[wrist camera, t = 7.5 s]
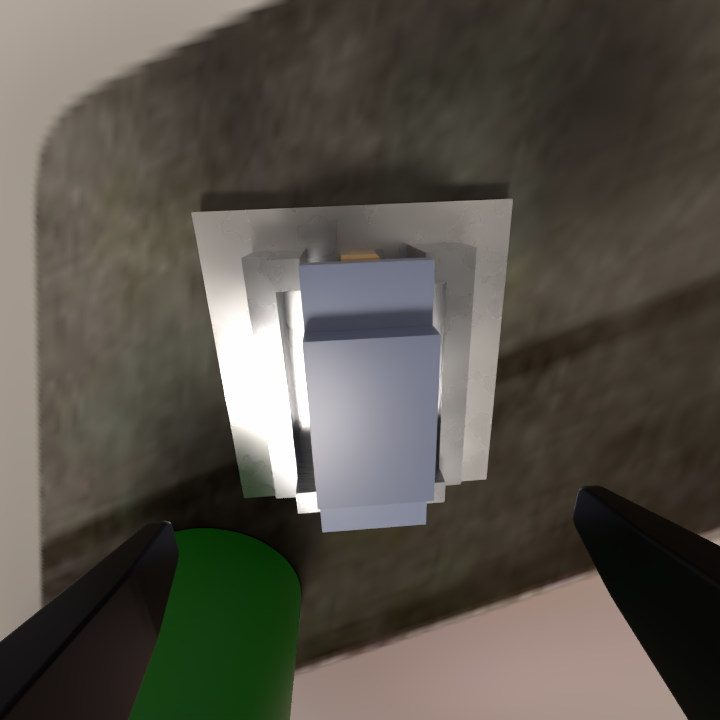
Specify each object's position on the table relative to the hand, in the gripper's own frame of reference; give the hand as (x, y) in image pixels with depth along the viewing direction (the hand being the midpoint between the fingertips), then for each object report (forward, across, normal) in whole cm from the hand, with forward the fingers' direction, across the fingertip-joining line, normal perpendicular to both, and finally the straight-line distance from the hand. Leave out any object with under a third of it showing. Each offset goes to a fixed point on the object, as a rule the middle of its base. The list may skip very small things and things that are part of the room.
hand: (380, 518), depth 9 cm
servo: (+9, 0, 0) cm, 9 cm away
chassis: (+10, 0, 0) cm, 10 cm away
